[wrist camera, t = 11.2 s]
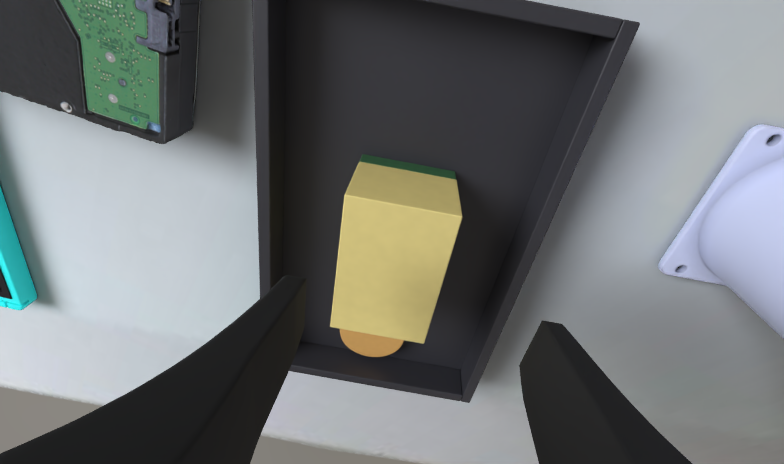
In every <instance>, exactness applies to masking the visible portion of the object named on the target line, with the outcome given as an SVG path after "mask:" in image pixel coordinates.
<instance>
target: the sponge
mask: <svg viewBox="0 0 784 464" xmlns="http://www.w3.org/2000/svg"><path fill="white" fill-rule="evenodd" d="M462 218H463V217H462V210H461V204H460V198H459V192H458V186H457V180H456V174H455V171H450V170H445V169H440V168H434V167H429V166H424V165H418V164H413V163H408V162H402V161H397V160H392V159H386V158H381V157H376V156H370V155H365V154H362V156H361V159H360V161H359V163H358V165H357V167H356V170H355V172H354V174H353V177H352V179H351V181H350V184H349V186H348V188H347V191H346V193H345V195H344V204H343V213H342V222H341V231H340V240H339V249H338V259H337V268H336V277H335V286H334V295H333V304H332V313H331V322H330V327H333V328H339V329H344V330H350V331H355V332H361V333H367V334H372V335H378V336H383V337H389V338H394V339H400V340H405V341H411V342H417V343H422V344H424V342H425V339H426V336H427V333H428V329H429V326H430V323H431V319H432V316H433V313H434V310H435V306H436V303H437V300H438V296H439V293H440V290H441V287H442V283H443V280H444V277H445V273H446V270H447V267H448V264H449V260H450V257H451V254H452V250H453V247H454V244H455V241H456V237H457V234H458V231H459V227H460V224H461V221H462Z"/></svg>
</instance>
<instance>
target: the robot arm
mask: <svg viewBox="0 0 784 464" xmlns="http://www.w3.org/2000/svg"><path fill="white" fill-rule="evenodd" d="M772 135H774V137H773V139H772V140H771V141H770V142H768V143H767V140H768V139H769V138H770V137H771V136H772ZM681 265H682V266H681ZM679 266H681V267H680V268H678V269H676V268H677V267H679ZM658 268H659V269H660V270H661V272H662V273H663V274H666V275H671V276H676V277H682V278H687V279H693V280H698V281H704V282H709V283H714V284H720V285H725V286H728V287H729V288H730V289H731V290H732V291H733V292H734V293H735V294H736V295H738V296H739V297H740V298H741V299H742V300H743V301H744V302H745V303H746V304H747V305H748V306H749V307H750V308H751V309H752V310H753V311H754V312H755V313H757V314H758V315H759V316H760V317H761V318H762V319H763V320H764V321H765V322H766V323H767V324H768V325H769V326H770V327H771V328H772V329H773V330H775V331H776V332H777V333H778V334H779V335H780V336H781V337H782V338H783V339H784V128H781V127H776V126H771V125H765V124H759V125H756V126H753V127H752V128H750V129H749V130H748V131H747V132H746V133H745V135H744V136H743V138H742V139H741V141H740V142H739V144H738V145H737V147H736V148H735V150H734V151H733V153H732V154H731V156H730V157H729V159H728V160H727V162H726V163H725V165H724V166H723V168H722V169H721V171H720V172H719V174H718V175H717V177H716V178H715V180H714V181H713V182H712V184H711V185H710V187H709V188H708V190H707V191H706V193H705V194H704V196H703V197H702V199H701V200H700V202H699V203H698V205H697V206H696V208H695V209H694V211H693V212H692V214H691V215H690V217H689V218H688V220H687V221H686V223H685V224H684V226H683V227H682V229H681V230H680V232H679V233H678V235H677V236H676V238H675V239H674V241H673V242H672V244H671V245H670V247H669V248H668V250H667V251H666V253H665V254H664V256H663V257H662V259H661V260H660V262H659V264H658ZM306 280H307V278H301V277H296V276H290V275H286V276H284V277H283V278H282V279H281V280H280V281H279V282H278V283H277V284H275V285H274V286H273V287H272V288H271V289H270V290H269V291H268V292H267V293H266V294H265V295H264V296H263V297H262V298H261V299H259V300H258V301H257V302H256V303H255V304H254V305H253V306H252V307H250V308H249V309H248V310H247V311H246V312H245V313H244V314H242V315H241V316H240V317H239V318H238V319H237V320H235V321H234V322H233V323H232V324H230V325H229V326H228V327H227V328H225V329H224V330H223V331H221V332H220V333H219V334H218V335H216V336H215V337H214V338H212V339H211V340H210V341H209V342H207V343H206V344H204V345H203V346H202V347H200V348H199V349H197V350H196V351H195V352H193V353H192V354H190V355H189V356H187V357H186V358H184V359H183V360H181V361H180V362H178V363H177V364H175V365H174V366H172V367H171V368H169V369H167V370H166V371H164V372H163V373H161V374H159V375H158V376H156V377H154V378H153V379H151V380H149V381H148V382H146V383H144V384H143V385H141V386H139V387H138V388H136V389H134V390H132V391H130V392H129V393H127V394H125V395H123V396H121V397H119V398H117V399H115V400H114V401H112V402H110V403H108V404H106V405H104V406H102V407H100V408H98V409H96V410H94V411H93V412H91V413H89V414H87V415H85V416H83V417H81V418H79V419H77V420H75V421H73V422H70V423H69V424H66V425H64V426H62V427H60V428H57V429H55V430H53V431H51V432H48V433H46V434H44V435H42V436H40V437H37V438H35V439H33V440H31V441H28V442H26V443H24V444H22V445H19V446H17V447H15V448H12V449H10V450H8V451H5V452H3V453H1V454H0V464H250V462H251V459H252V456H253V453H254V450H255V447H256V445H257V442H258V439H259V437H260V434H261V432H262V430H263V427H264V425H265V423H266V420H267V418H268V416H269V414H270V412H271V409H272V407H273V405H274V403H275V400H276V398H277V396H278V394H279V392H280V389H281V387H282V385H283V383H284V380H285V378H286V376H287V374H288V371H289V369H290V367H291V365H292V362H293V360H294V358H295V355H296V352H297V349H298V346H299V342H300V339H301V336H302V333H303V329H304V323H305V302H306ZM519 366H520V376H521V385H522V393H523V400H524V404H525V408H526V412H527V417H528V421H529V425H530V429H531V433H532V437H533V441H534V445H535V449H536V453H537V457H538V461H539V464H692V463H691V462H690V461H689V460H688V459H687V458H686V457H685V456H683V455H682V454H681V453H680V452H679V451H678V450H677V449H676V448H675V447H674V446H673V445H672V444H671V443H670V442H669V441H668V440H667V439H665V438H664V437H663V436H662V435H661V434H660V433H659V432H658V431H657V430H656V429H655V428H654V427H653V426H652V425H651V424H650V423H649V422H648V421H647V420H646V418H645V417H644V416H643V415H642V414H641V413H640V412H639V411H638V410H637V409H636V408H635V407H634V406H633V405H632V404H631V403H630V402H629V401H628V399H627V398H626V397H625V396H624V395H623V394H622V393H621V392H620V391H619V390H618V388H617V387H616V386H615V385H614V384H613V383H612V382H611V380H610V379H609V378H608V377H607V376H606V375H605V374H604V372H603V371H602V370H601V369H600V368H599V367H598V365H597V364H596V363H595V362H594V361H593V360H592V358H591V357H590V356H589V355H588V354H587V352H586V351H585V350H584V349H583V348H582V346H581V345H580V344H579V343H578V342H577V341H576V339H575V338H574V337H573V336H572V335H571V334H570V332H569V331H568V330H567V329H566V328H565V327H564V326H563V325H562V324H559V323H553V322H548V321H542V322H541V324H540V326H539V328H538V330H537V332H536V334H535V336H534V337H533V339H532V341H531V343H530V345H529V347H528V349H527V351H526V353H525V355H524V357H523V359H522V361H521V363H520V365H519Z"/></svg>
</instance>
